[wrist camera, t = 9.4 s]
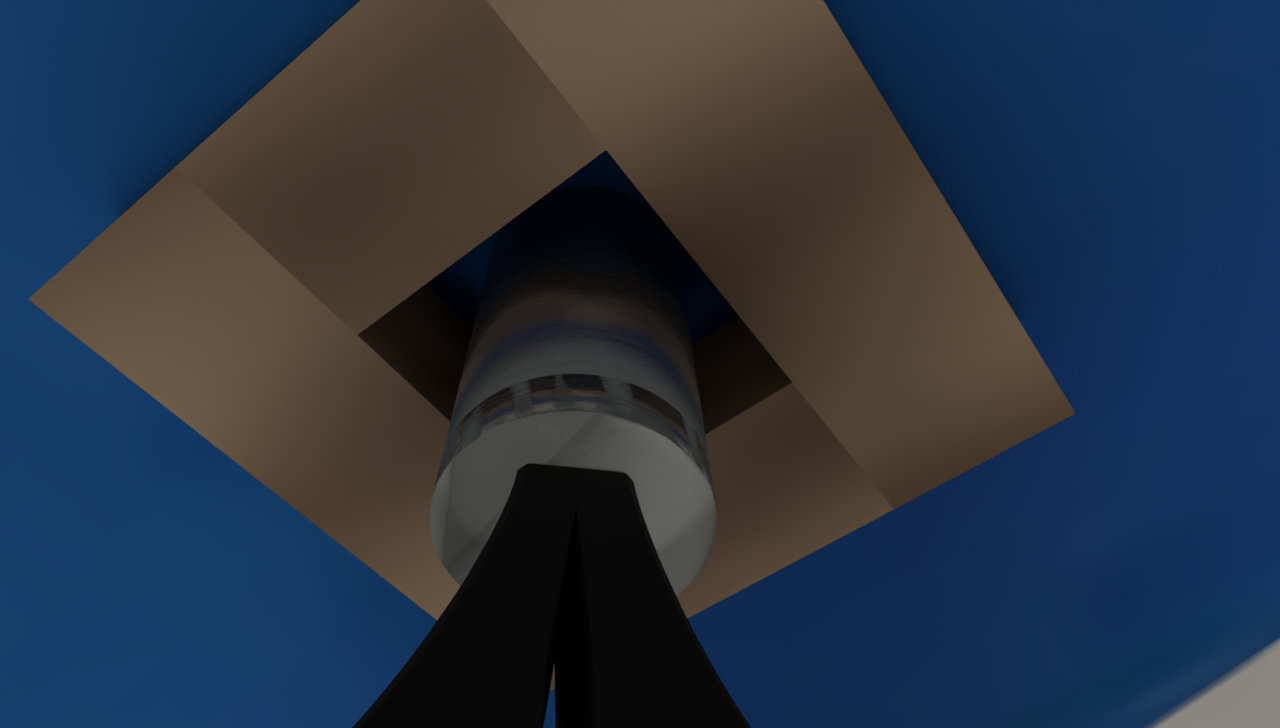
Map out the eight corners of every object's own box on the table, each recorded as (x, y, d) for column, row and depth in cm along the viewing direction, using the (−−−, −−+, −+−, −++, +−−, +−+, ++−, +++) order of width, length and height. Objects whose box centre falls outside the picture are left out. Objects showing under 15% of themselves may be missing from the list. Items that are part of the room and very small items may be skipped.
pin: (715, 295, 18) (770, 551, 12) (566, 386, 19) (549, 663, 13) (606, 147, 16) (605, 358, 10) (449, 255, 17) (368, 505, 11)
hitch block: (1012, 325, 18) (1075, 413, 16) (545, 591, 22) (536, 697, 20) (651, -261, 13) (659, -269, 11) (117, 220, 17) (28, 299, 14)
